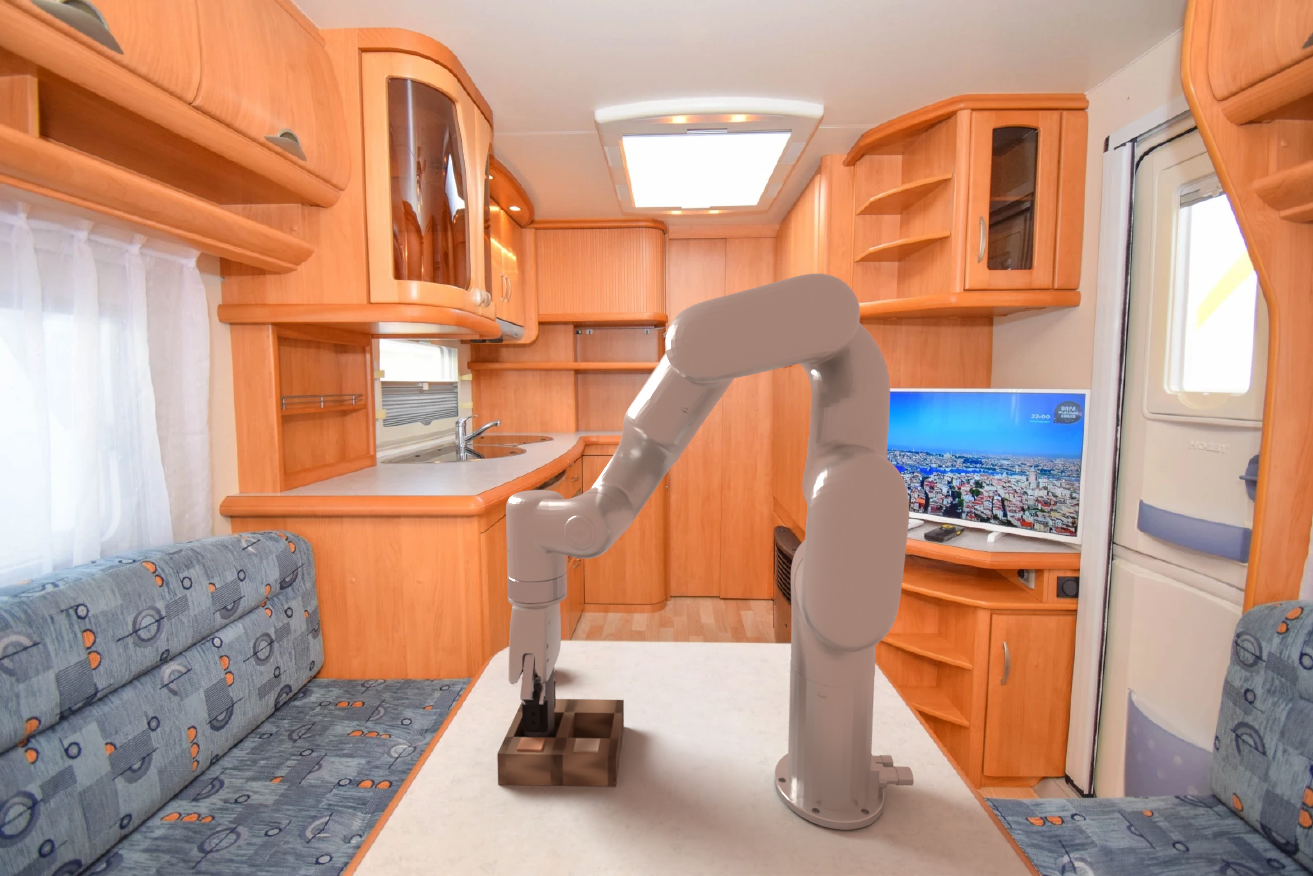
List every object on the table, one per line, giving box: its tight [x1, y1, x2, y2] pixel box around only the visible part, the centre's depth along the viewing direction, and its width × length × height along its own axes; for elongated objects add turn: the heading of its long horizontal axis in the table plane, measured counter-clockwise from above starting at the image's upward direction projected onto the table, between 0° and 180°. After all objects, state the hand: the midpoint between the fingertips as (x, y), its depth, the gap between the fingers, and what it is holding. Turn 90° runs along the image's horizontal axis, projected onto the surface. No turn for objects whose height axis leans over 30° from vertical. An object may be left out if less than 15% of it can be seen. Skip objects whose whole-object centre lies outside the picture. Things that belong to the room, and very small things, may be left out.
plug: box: [524, 668, 555, 738], centre depth 72 cm, size 4×4×10 cm
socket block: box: [496, 698, 625, 788], centre depth 72 cm, size 14×12×4 cm
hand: (539, 718), depth 72 cm, fingers closed on plug, 3 cm apart
